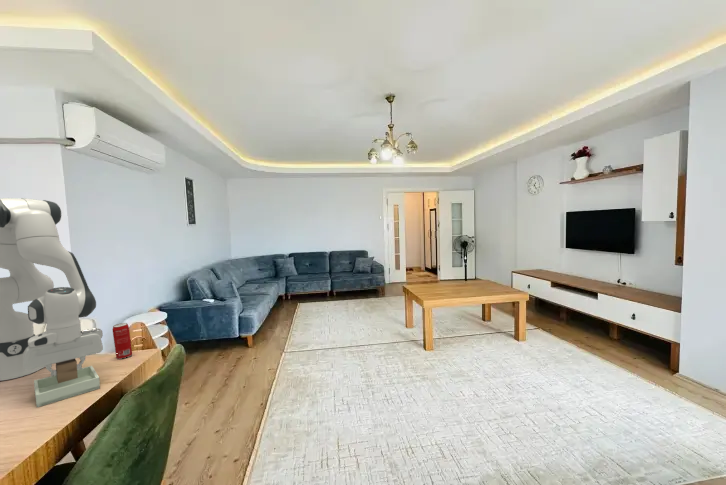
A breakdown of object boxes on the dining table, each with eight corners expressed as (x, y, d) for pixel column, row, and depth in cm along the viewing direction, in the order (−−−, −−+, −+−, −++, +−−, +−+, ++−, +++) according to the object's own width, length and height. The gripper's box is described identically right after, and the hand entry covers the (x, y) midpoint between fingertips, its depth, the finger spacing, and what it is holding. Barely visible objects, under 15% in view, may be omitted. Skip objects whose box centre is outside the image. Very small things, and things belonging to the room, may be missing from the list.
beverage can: (135, 354, 143) (133, 322, 142) (123, 360, 136) (121, 326, 136) (123, 354, 144) (121, 321, 143) (110, 360, 137) (108, 326, 137)
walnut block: (56, 379, 111) (55, 362, 111) (75, 374, 114) (74, 357, 114) (58, 383, 107) (56, 366, 107) (77, 378, 111) (76, 361, 111)
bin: (34, 391, 111) (33, 380, 110) (92, 375, 122) (91, 365, 122) (36, 407, 100) (36, 395, 100) (99, 388, 112) (99, 377, 112)
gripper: (100, 325, 120) (102, 360, 121) (21, 340, 105) (24, 380, 105) (103, 328, 116) (106, 365, 116) (22, 344, 101) (25, 386, 101)
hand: (66, 372), depth 111 cm, fingers closed on walnut block, 5 cm apart
